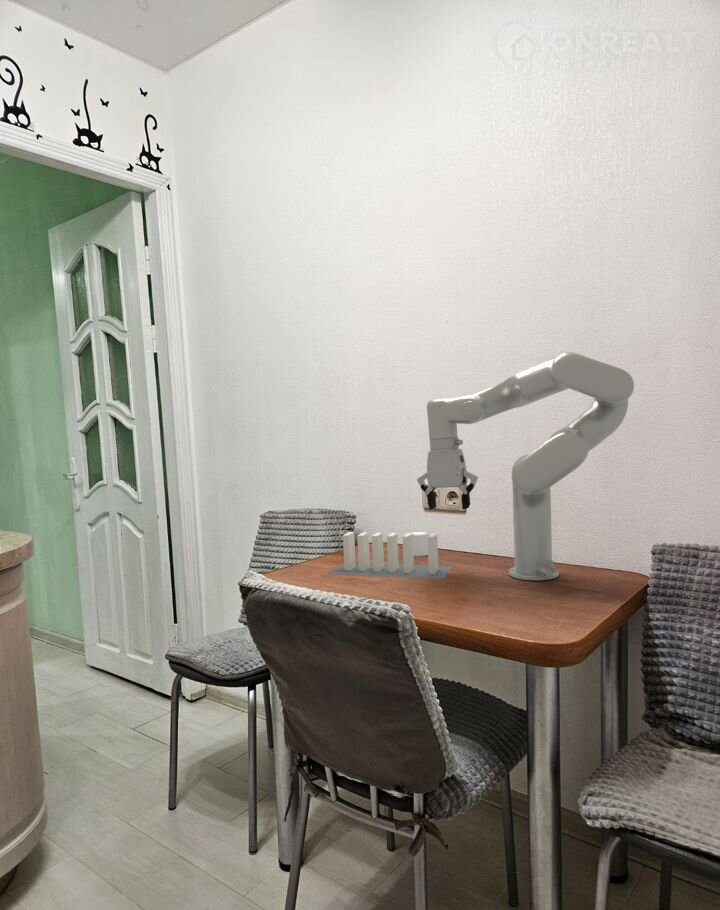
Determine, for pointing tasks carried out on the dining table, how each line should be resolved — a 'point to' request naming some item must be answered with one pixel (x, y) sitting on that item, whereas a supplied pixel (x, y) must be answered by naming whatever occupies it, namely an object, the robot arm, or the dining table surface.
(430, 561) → the domino
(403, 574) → the mat
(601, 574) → the dining table surface
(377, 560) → the domino
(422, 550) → the white cup
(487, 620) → the dining table surface
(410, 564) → the domino
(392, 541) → the domino
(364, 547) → the domino
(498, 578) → the dining table surface
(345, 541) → the domino
